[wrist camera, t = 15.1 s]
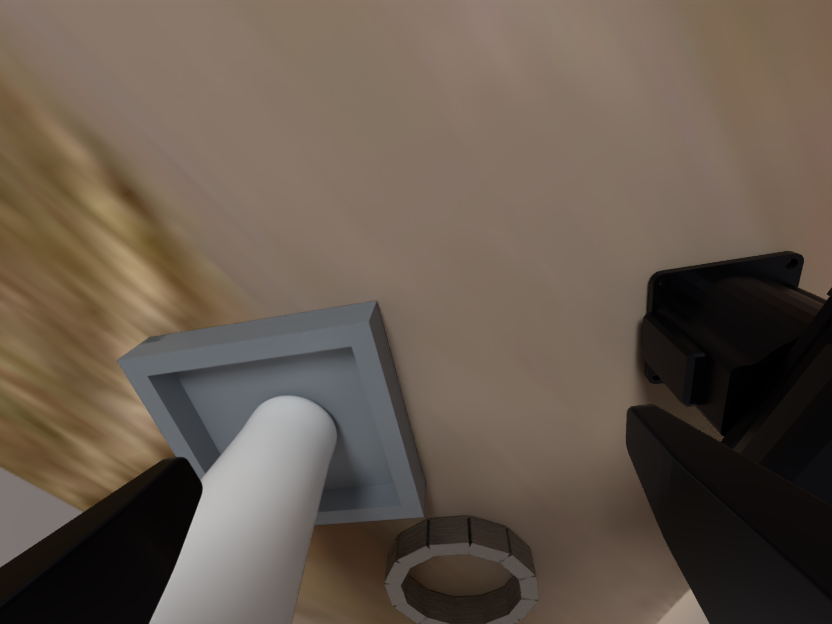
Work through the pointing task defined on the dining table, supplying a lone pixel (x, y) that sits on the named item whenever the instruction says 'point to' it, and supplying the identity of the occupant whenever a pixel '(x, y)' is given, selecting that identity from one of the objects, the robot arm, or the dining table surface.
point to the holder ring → (471, 615)
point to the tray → (298, 376)
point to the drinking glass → (254, 520)
